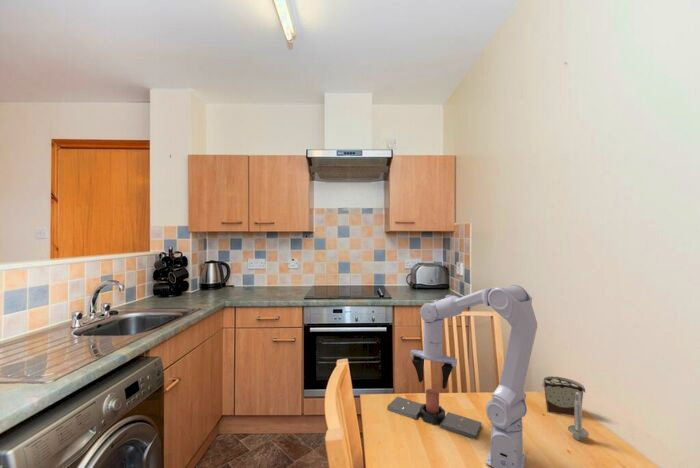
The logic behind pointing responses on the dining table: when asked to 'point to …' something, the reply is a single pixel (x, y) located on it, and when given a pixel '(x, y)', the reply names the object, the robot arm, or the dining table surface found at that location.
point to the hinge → (436, 417)
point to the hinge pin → (432, 401)
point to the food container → (561, 394)
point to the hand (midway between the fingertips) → (432, 384)
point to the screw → (578, 420)
